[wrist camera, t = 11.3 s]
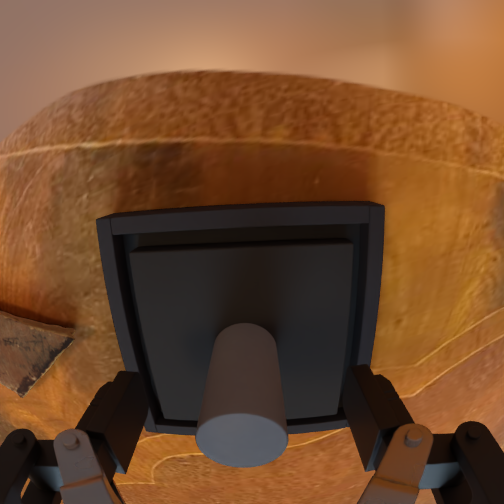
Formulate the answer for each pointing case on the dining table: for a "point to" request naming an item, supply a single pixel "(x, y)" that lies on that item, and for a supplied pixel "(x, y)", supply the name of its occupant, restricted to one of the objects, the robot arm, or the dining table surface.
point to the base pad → (243, 230)
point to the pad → (246, 293)
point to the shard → (29, 350)
